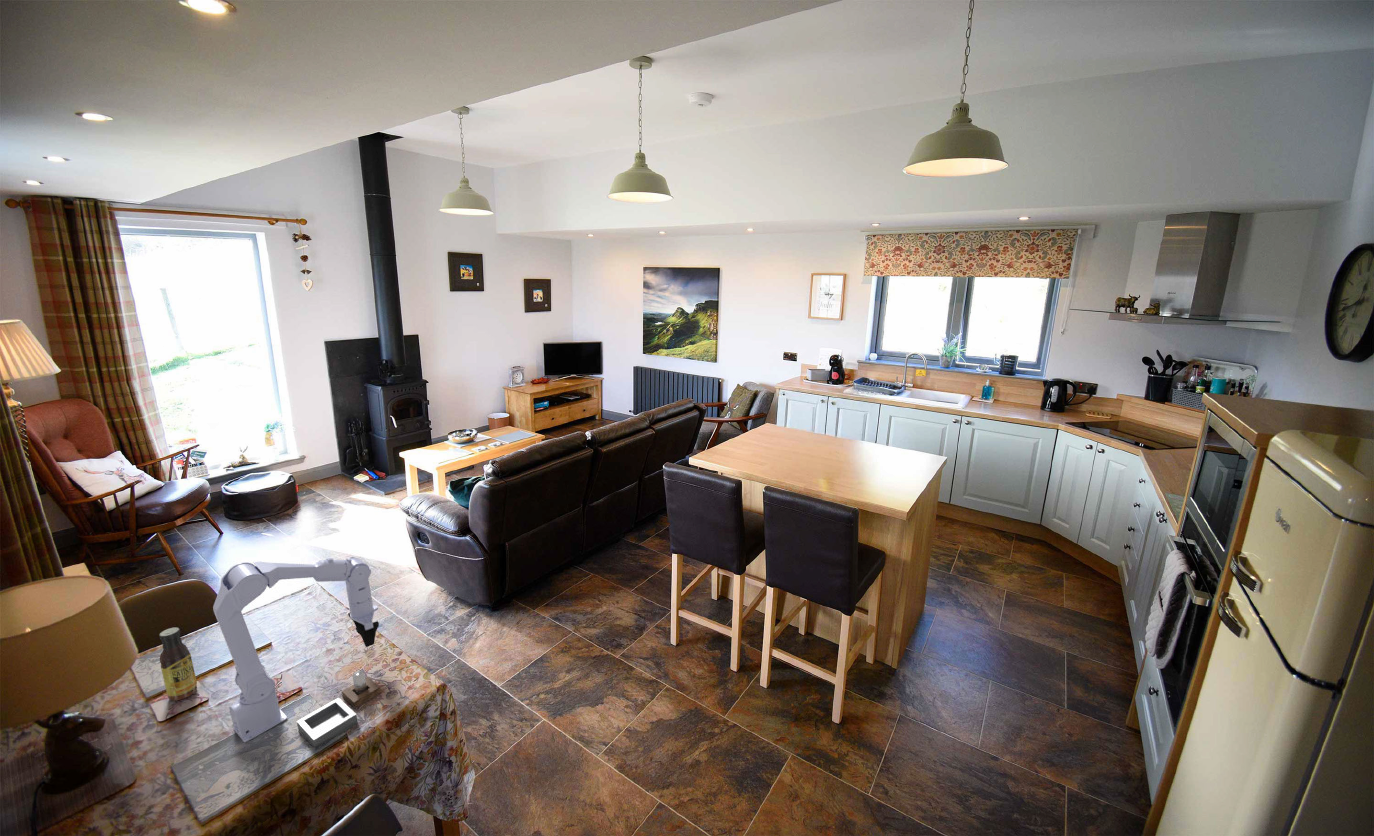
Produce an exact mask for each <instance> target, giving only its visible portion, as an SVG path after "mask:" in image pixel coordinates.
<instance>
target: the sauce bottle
mask: <svg viewBox="0 0 1374 836" xmlns="http://www.w3.org/2000/svg"><path fill="white" fill-rule="evenodd" d="M159 639H160V641H161V643H162V651H161V653H160V655H159V663H160V668H161V669H160V670H161V673H162V679H163V683H164V687H165V692H166V694H167V697H168V699H169V700H170V701H174V702H177V701H180V700H185V699H186V698H188V697H190V696H192V695H193V694H194V693H195V692H196V691H197V689H198V687H197V686H198V685H197V684H198V682H197V678H196V672H195V668H194V663H193V659H192V654H191V652H190V650H189V649H188V647H187V645H186V644H184V642H183V641H182V639H181V630H180V628H179V627H170V628H167V629H165V630H162V631H161V632H160V633H159Z"/></svg>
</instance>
